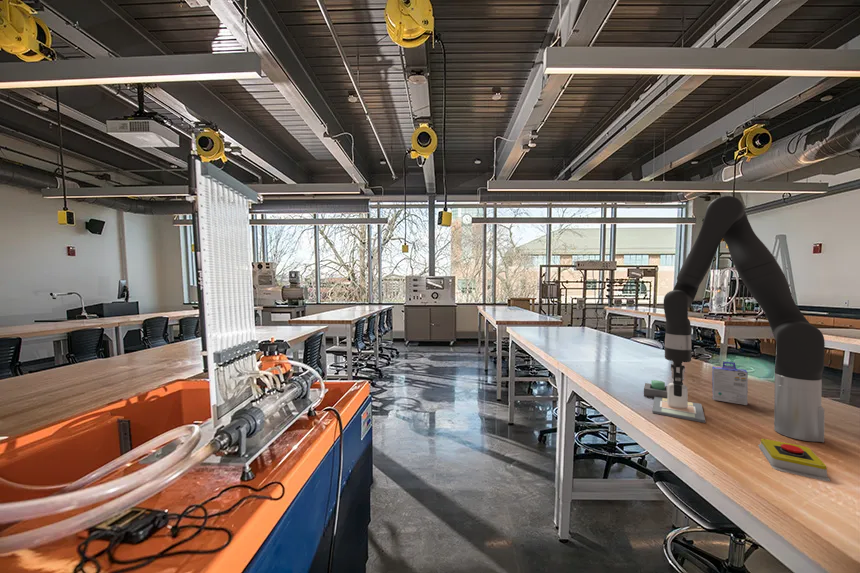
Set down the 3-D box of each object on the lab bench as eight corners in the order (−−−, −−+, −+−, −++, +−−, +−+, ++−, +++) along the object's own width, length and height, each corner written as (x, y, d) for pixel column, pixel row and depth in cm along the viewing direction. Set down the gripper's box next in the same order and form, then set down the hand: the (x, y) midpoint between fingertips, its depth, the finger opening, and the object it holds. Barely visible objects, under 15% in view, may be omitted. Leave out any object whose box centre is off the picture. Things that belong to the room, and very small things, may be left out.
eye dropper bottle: (686, 410, 113) (686, 375, 113) (666, 406, 117) (666, 372, 117) (688, 407, 116) (688, 373, 116) (668, 403, 120) (668, 370, 120)
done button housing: (672, 394, 133) (672, 386, 133) (672, 400, 125) (672, 392, 125) (645, 390, 138) (645, 382, 138) (643, 396, 131) (643, 388, 131)
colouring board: (701, 406, 120) (701, 403, 120) (705, 422, 105) (705, 420, 105) (654, 398, 128) (654, 395, 128) (652, 412, 114) (652, 410, 114)
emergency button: (773, 453, 79) (756, 430, 92) (773, 471, 79) (756, 446, 92) (832, 465, 74) (806, 438, 86) (832, 484, 74) (805, 455, 86)
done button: (664, 389, 132) (664, 381, 132) (664, 391, 129) (664, 384, 129) (651, 387, 135) (651, 379, 135) (651, 389, 131) (651, 382, 131)
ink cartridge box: (746, 401, 124) (746, 363, 124) (748, 406, 120) (748, 366, 120) (711, 396, 130) (711, 359, 130) (712, 400, 126) (712, 362, 126)
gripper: (692, 351, 109) (692, 400, 109) (690, 344, 120) (690, 389, 120) (664, 348, 113) (664, 396, 113) (665, 342, 125) (664, 385, 125)
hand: (677, 392), depth 117 cm, fingers open, 8 cm apart
